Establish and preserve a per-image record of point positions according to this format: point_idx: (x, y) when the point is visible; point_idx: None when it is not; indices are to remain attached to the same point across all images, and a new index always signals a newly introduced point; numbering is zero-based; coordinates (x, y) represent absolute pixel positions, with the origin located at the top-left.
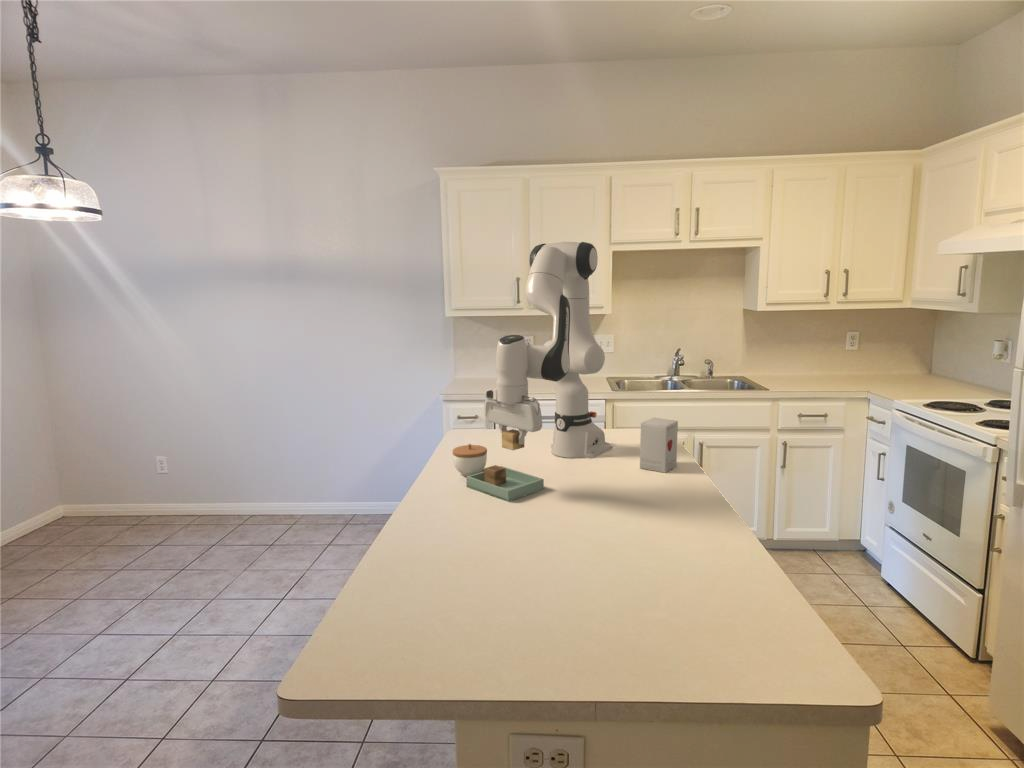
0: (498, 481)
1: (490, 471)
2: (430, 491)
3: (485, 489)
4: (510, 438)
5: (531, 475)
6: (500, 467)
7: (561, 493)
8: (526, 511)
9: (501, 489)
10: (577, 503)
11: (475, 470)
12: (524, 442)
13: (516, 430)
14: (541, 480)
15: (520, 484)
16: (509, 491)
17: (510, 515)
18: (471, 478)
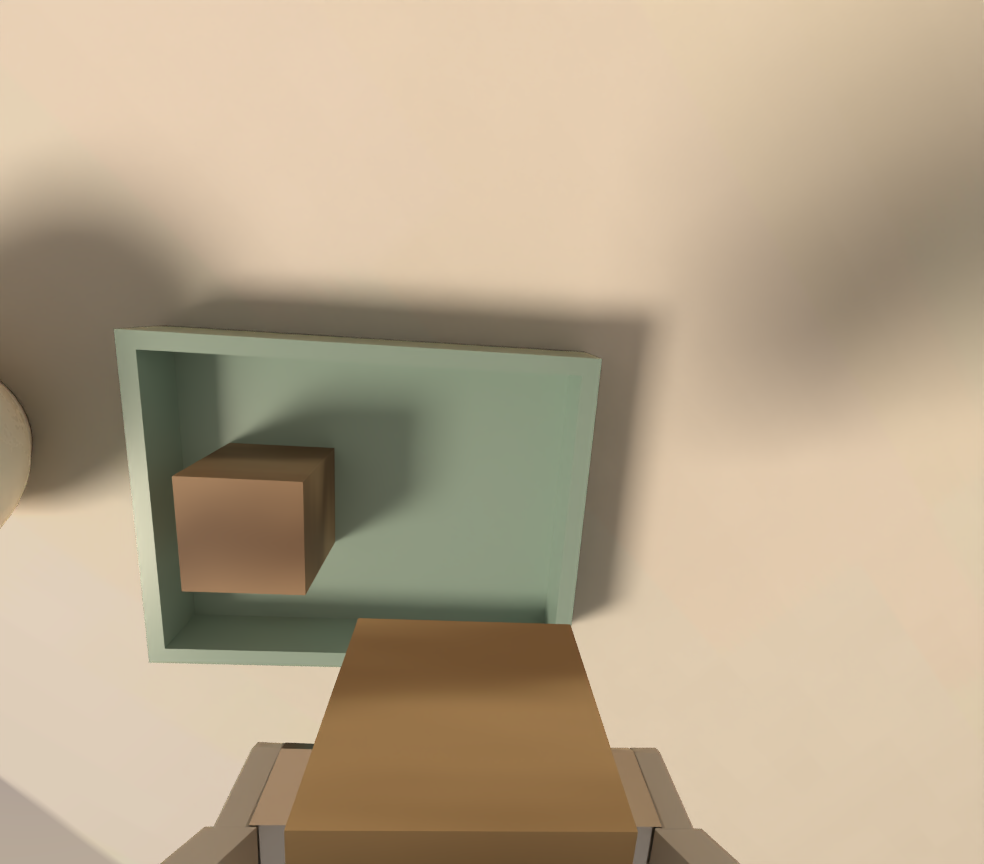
0: (328, 522)
1: (261, 589)
2: (112, 780)
3: None
4: None
5: (476, 353)
6: (254, 494)
7: (719, 336)
8: (714, 659)
9: None
10: (883, 409)
11: (24, 483)
12: (657, 750)
13: (427, 856)
14: (597, 379)
15: (430, 409)
16: None
17: (681, 735)
18: (207, 663)
